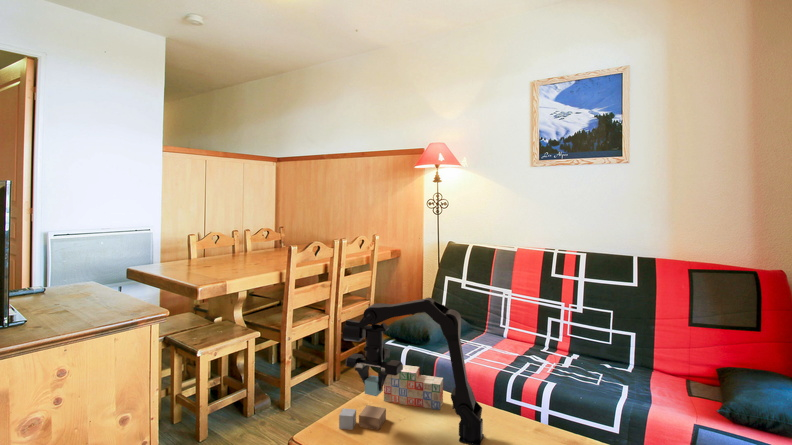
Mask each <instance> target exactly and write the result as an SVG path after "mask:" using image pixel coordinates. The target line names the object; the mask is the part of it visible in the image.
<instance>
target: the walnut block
mask: <svg viewBox="0 0 792 445" xmlns="http://www.w3.org/2000/svg"><path fill="white" fill-rule="evenodd" d="M386 419H387V408H386V407H381V406H374V405H368V404H367V405H365V407H364V408H363V409H362V410H361V412H360V413H359V415H358V427H360V428H365V429H371V430H377V431H380V430H381V428H382V426H383V424H384V423H385V421H386Z"/></svg>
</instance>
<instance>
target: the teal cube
mask: <svg viewBox="0 0 792 445" xmlns="http://www.w3.org/2000/svg"><path fill="white" fill-rule="evenodd" d="M382 392H384V386H383V387H382V390H381V391H379V384H378V375H377V376H376V375H369V377H368V378H367V379H366V380H365V385H364V395H367V396H373V397H378V396H379V395H380V394H381V393H382Z"/></svg>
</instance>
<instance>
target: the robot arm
mask: <svg viewBox="0 0 792 445" xmlns="http://www.w3.org/2000/svg"><path fill="white" fill-rule="evenodd" d="M421 313H425V314H427V315H428V316H429V318H431V319H432V320H433V321H434V322H435V323H437V324H438V325H439V327H440V329H441V333H442V335H443V337H444V339H445V340H446V342H447V346H448V347H447V348H448V352H449V358H450V363H451V370H452V375H453V381H454V387H453V388H452V390H451V393H450V399H451V402H452V410H454V411H455V413H456V415H458V416H459V418H460V421H459V423H458V436H459V438H458V441H459V442H460V443H465V444H469V445H481V444H482V441H483V439H484V436H485V433H483V432H484V431H483V430H484V429H483V428H484V424H483V423H484V421H483V420H484V418H482V412H483V407H482V406H481V404H480V403H479V402H478V401H477V400H476V396H475V393H474V391H473V388H472V386H471V384H470V383H469V380H468V375H467V374H468V373H467V369H466V364H465V358H464V353H463V347H462V340H461V335H462V334H461V331H462V316H461V314H460V312H458V311H457V310H455V309H451V308H449V307H448V306H446V305H444V304H442V303H440V302H439V301H436V300H435V299H433V298H432V297H425V298H421V299H415V300H409V301H403V302H398V303H383V302H382V303H380V302H379V303H373V304H371V305H370V306H368V307H367V308H365V310H364V311H363V314H362V315H363V317H362V318H361V320H353V319H346V320H345V323H344V326H343V328H342V329H343V331H342V334H341V335H342V338H343V340H344V341H349V342H350V341H351V342H362V341H363V339H365V346H364V347H363V351H364V352H365V356H364V354H362V353H356V352H355V353H352V354H351V355H350V356H349V355H348V356H347V358H346V359H345V366H346V367H348V368H354V371H356V372H357V373H358V375H359V377H360V379H361V381H362V383H363V385H364V386H365V380H366V379H367V378H368V377H369V376H370V372H369V371H370V367H373V368H379V369H380V371H379V372H378V373H377V376H378V384H379V391H381V390H382V387H383V388H384V382H385V379H386V377H387V375H388V374H389V375H394V376H395V375H397V374H399V373H400V372H401V371H402V370H403V365H404V364H403V362H402V361H401V360H395V359H391V360H390V361H388V362H387V361H386V359H389V358H390V354H391V353H390V352H391V348H388V347H386V345H385V343H384V342H383V341H384V338H383V337H384V336H383V334H384V332H387V331H388V330H389V329H390V327H389V326H388V325H387V323H385V321H386V320H389V319H391V318H396V317H403V316H408V315H409V316H410V315H417V314H421ZM380 323H381V324H380Z"/></svg>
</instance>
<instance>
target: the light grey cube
mask: <svg viewBox="0 0 792 445" xmlns="http://www.w3.org/2000/svg"><path fill="white" fill-rule="evenodd" d="M356 424H357V409H356V408H342V409H341V411H340V413H339V415H338V429H339V430H350V431H351V430H352V431H353V430H354V428H355V425H356Z"/></svg>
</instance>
